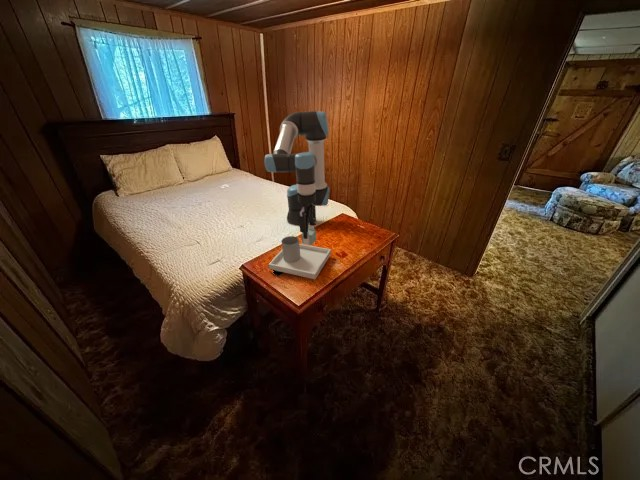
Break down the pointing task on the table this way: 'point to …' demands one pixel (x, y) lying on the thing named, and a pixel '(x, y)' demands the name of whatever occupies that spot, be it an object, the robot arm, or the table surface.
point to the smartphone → (278, 272)
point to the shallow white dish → (302, 262)
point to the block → (311, 236)
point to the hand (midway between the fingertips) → (309, 240)
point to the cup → (291, 249)
